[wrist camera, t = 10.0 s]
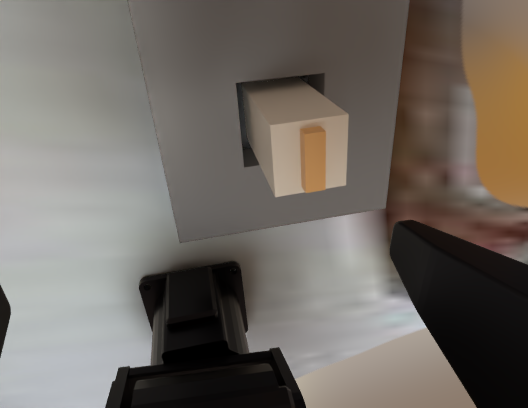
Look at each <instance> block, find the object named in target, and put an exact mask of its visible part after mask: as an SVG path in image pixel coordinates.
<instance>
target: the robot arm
mask: <svg viewBox="0 0 528 408" xmlns="http://www.w3.org/2000/svg"><path fill="white" fill-rule="evenodd" d="M390 256H391V259H392V261H393V263H394V265H395V267H396V270H397V272H398V274H399V276H400V278H401V280H402V282H403V284H404V286H405V288H406V290H407V292H408V294H409V297H410V299H411V301H412V303H413V305H414V306H415V308H416V310H417V312H418V314H419V315H420V317H421V319H422V320H423V322H424V323H425V325H426V327H427V328H428V330H429V331H430V333H431V335H432V336H433V338H434V339H435V341H436V343H437V344H438V346H439V348H440V349H441V351H442V352H443V354H444V356H445V357H446V359H447V360H448V362H449V363H450V365H451V367H452V368H453V370H454V372H455V373H456V375H457V376H458V378H459V380H460V381H461V382H462V384H463V386H464V388H465V389H466V391H467V392H468V394H469V396H470V397H471V399H472V400H473V402H474V404H475V405H476V407H477V408H528V265H527V264H524V263H522V262H519V261H517V260H514V259H512V258H509V257H507V256H504V255H501V254H499V253H496V252H494V251H491V250H489V249H486V248H483V247H481V246H478V245H476V244H473V243H471V242H468V241H466V240H463V239H460V238H458V237H455V236H453V235H450V234H448V233H445V232H443V231H440V230H437V229H435V228H432V227H430V226H427V225H425V224H422V223H420V222H417V221H414V220H405V221H398V222H396V223H395V225H394V227H393V233H392V238H391V244H390ZM231 269H235V270H234V271H230V270H231ZM146 284H149V285H151V286H145V285H146ZM139 290H140V293H141V296H142V300H143V303H144V306H145V310H146V313H147V316H148V319H149V323H150V326H151V329H152V332H153V335H152V352H151V365H150V366H143V367H135V368H130V366H127V367H120V368H118V372H117V376H116V379H115V381H113V382H112V386H111V389H110V393H109V396H108V400H107V403H106V407H105V408H306V405H305V402H304V399H303V396H302V394H301V392H300V390H299V388H298V385H297V383H296V381H295V379H294V377H293V375H292V373H291V371H290V369H289V367H288V365H287V363H286V360H285V358H284V356H283V354H282V352H281V350H280V348H279V347H278V348H270V350H269V351H261V352H253V353H249V349H248V344H247V339H246V334H245V333H246V332H247V331H248V325H247V317H246V308H245V300H244V292H243V284H242V275H241V269H240V265H239V264H238V263H237V262H229V263H223V264H217V265H212V266H206V267H201V268H195V269H190V270H184V271H178V272H173V273H167V274H162V275H156V276H151V277H145V278H143V279H142V280H141V281H140V283H139ZM10 315H11V309H10V304H9V302H8V300H7V298H6V296H5V294H4V291H3V289H2V287H1V285H0V357H1V353H2V349H3V345H4V340H5V336H6V332H7V328H8V324H9V319H10Z"/></svg>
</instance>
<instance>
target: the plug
mask: <svg viewBox="0 0 528 408" xmlns="http://www.w3.org/2000/svg"><path fill="white" fill-rule="evenodd" d="M241 86H242V96H243V105H244V115H245V124H246V134H247V139H248V141H249V144H250V146H251V148H252V150H253V152H254V154H255V156H256V158H257V160H258V162H259V164H260V166H261V169H262V171H263V173H264V175H265V177H266V179H267V181H268V183H269V185H270V187H271V189H272V192H273V194H274V196H275V197H280V196H286V195H292V194H298V193H304V192H305V193H310V192H316V191H322V190H326V189H327V188H333V187H339V186H345V185H346V173H347V147H348V120H349V114H348V113H346V112H345V111H344V110H342V109H341V108H340V107H338V106H337V105H335V104H334V103H333V102H331V101H330V100H329V99H327V98H326V97H325V96H323V95H322V94H320V93H319V92H318V91H316V90H315V89H314V88H312V87H311V86H310V85H308V84H307V83H305V82H304V81H303V80H301V79H300V78H299V77H297V76H296V77H288V78H280V79H273V80H265V81H257V82H249V83H241Z"/></svg>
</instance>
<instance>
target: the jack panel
mask: <svg viewBox="0 0 528 408" xmlns="http://www.w3.org/2000/svg"><path fill="white" fill-rule="evenodd" d="M128 5H129V10H130V14H131V19H132V23H133V28H134V33H135V37H136V42H137V47H138V51H139V56H140V60H141V65H142V70H143V74H144V79H145V84H146V88H147V93H148V98H149V102H150V107H151V111H152V116H153V121H154V125H155V130H156V135H157V139H158V144H159V148H160V153H161V158H162V162H163V167H164V172H165V176H166V181H167V186H168V190H169V195H170V199H171V204H172V209H173V213H174V218H175V223H176V227H177V232H178V236H179V241H180V243H182V242H188V241H194V240H200V239H206V238H212V237H218V236H224V235H230V234H236V233H242V232H247V231H253V230H259V229H265V228H271V227H277V226H283V225H289V224H295V223H301V222H307V221H313V220H319V219H325V218H330V217H336V216H342V215H348V214H354V213H360V212H366V211H372V210H378V209H384V208H386V200H387V191H388V183H389V174H390V165H391V157H392V148H393V139H394V131H395V122H396V113H397V105H398V96H399V87H400V78H401V70H402V61H403V52H404V44H405V35H406V26H407V18H408V9H409V0H128ZM302 75H309V85H310V86H311V87H312V88H314V89H315V90H316V91H318V92H319V93H320V94H322V95H323V96H325V97H326V98H327V99H329V100H330V101H331V102H333V103H334V104H335V105H337V106H338V107H340V108H341V109H342V110H344V111H345V112H346V113H348V114H349V120H348V147H347V173H346V185H345V186H339V187H333V188H327V189H326V190H322V191H316V192H310V193H305V192H304V193H298V194H292V195H286V196H280V197H275V196H274V194H273V192H272V189H271V187H270V185H269V183H268V181H267V179H266V177H265V175H264V173H263V171H262V169H261V166H260V164H259V162H258V160H257V158H256V156H255V154H254V152H253V150H252V148H245V149H242V141H241V131H240V120H239V110H238V100H237V90H236V83H239V82H248V81H257V80H266V79H275V78H284V77H293V76H302Z"/></svg>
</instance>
